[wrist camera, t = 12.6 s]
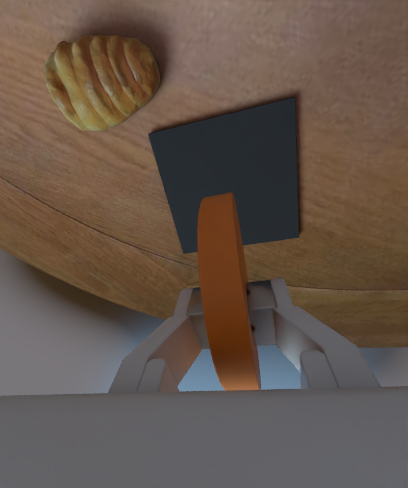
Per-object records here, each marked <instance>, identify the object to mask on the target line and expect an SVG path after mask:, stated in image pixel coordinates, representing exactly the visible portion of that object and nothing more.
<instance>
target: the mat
mask: <svg viewBox="0 0 408 488" xmlns="http://www.w3.org/2000/svg"><path fill="white" fill-rule="evenodd" d="M148 135H149V139H150V142H151V145H152V149H153V152H154V155H155V159H156V162H157V166H158V169H159V172H160V176H161V179H162V182H163V186H164V189H165V193H166V196H167V199H168V203H169V206H170V209H171V213H172V216H173V220H174V223H175V226H176V230H177V233H178V236H179V240H180V243H181V247H182V250H183V253H184V254H185V253H192V252H198V246H197V228H198V215H199V208H200V203H201V201H202V199H203V198H205V197H210V196H215V195H220V194H226V193H233V195H234V199H235V204H236V209H237V214H238V219H239V225H240V231H241V237H242V243H243V245H249V244H256V243H263V242H270V241H277V240H284V239H291V238H298V237H299V210H298V176H297V142H296V108H295V97H293V98H289V99H285V100H281V101H277V102H273V103H269V104H265V105H261V106H257V107H253V108H249V109H245V110H241V111H237V112H233V113H229V114H225V115H221V116H217V117H213V118H209V119H205V120H202V121H198V122H194V123H190V124H186V125H182V126H178V127H174V128H170V129H166V130H162V131H158V132H154V133H150V134H148Z"/></svg>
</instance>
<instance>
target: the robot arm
mask: <svg viewBox="0 0 408 488" xmlns="http://www.w3.org/2000/svg"><path fill="white" fill-rule="evenodd" d="M246 291H247V303H248V312H249V317H250V323H251V327H252V335H253V340H254V346H256V345H277V346H278V348H279V349H280V350H281V351H282V352H283V353H284V354H285V356H286V357H287V358H288V359H289V360H290V361H291V362H292V363H293V365H294V366H295V367H296V368H297V369H298V370H299V371H300V374H301V389H274V390H230V391H190V392H189V391H186V392H179V390H178V387H177V386H178V384H179V383H180V381H181V380H182V379H183V377H184V375H185V374H186V373H187V371H188V370H189V368H190V367H191V365H192V364H193V362H194V361H195V359H196V358H197V356H198V355H199V353H200V352H201V349H210V347H209V342H208V337H207V332H206V326H205V320H204V314H203V306H202V298H201V290H200V287H199V288H189V289H182V290H181V291H180V294H179V298H178V301H177V304H176V308H175V311H174V314H173V317H169V318H168V319H167V320H166V321H165V322H164V323H163V324H161V325H160V326H159V327H158V328H157V329H156V330H155V331H154V332H153V333H152V334H150V335H149V336H148V337H147V338H146V339H145V340H144V341H143V342H142V343H141V344H140V345H138V346H137V347H136V348H135V349H134V350H133V351H132V352H131V353H130V354H129V355H128V356H126V357H125V358H124V359H123V361H122V363H121V365H120V368H119V370H118V372H117V374H116V376H115V379H114V381H113V383H112V385H111V388H110V390H109V392H108V393H101V394H100V393H99V394H62V395H61V394H60V395H58V394H56V395H15V396H14V395H13V396H0V488H408V386H404V387H402V386H401V387H381V386H380V384H379V382H378V381H377V379H376V377H375V375H374V374H373V372H372V370H371V368H370V367H369V365H368V363H367V362H366V360H365V358H364V356H363V355H362V353H361V351H360V349H359V348H358V347H357V346H356V345H354V344H353V343H351V342H350V341H349V340H347V339H346V338H344V337H343V336H341V335H340V334H338V333H337V332H335V331H334V330H332V329H331V328H329V327H328V326H327V325H325V324H324V323H322V322H321V321H319V320H318V319H316V318H315V317H313V316H312V315H310V314H309V313H307V312H306V311H304V310H303V309H302V308H300V307H299V306H293V303H292V301H291V298H290V295H289V292H288V289H287V286H286V284H285V281H284V279H283V278H277V279H270V280H265V281H257V282H248V283H246Z"/></svg>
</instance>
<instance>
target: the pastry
mask: <svg viewBox="0 0 408 488" xmlns="http://www.w3.org/2000/svg"><path fill="white" fill-rule="evenodd" d="M43 74H44V78H45V80H46V84H47V86H48V89H49V91H50V93H51V96H52V98H53V100H54V102H55V103H56V104H57V105H58V106H59V108H60V109H61V111H62V113H63V114H64V115H65V117H66V118H67V119H68V120H69V121H70V122H72V123H73V124H74V125H76V126H77V127H78V128H79V129H81V130H84V131H87V130H95V131H106V130H108V129H109V128H111V127H113V126H115V125H117V124H120V123H122V122H124V121H125V120H126V119H128V118H129V117H130V116H131V115H133V114H134V113H135V112H136V111H138V110H139V109H140V108H141V107H143V106H144V105H145V104H146V103H148V102H149V101H150V100H151V99H152V97H153V95H154V94H155V92H156V90H157V89H158V86H159V82H160V74H159V69H158V66H157V64H156V61H155V59H154V57H153V54H152V52H151V50H150V49H149V48H148V47H147V46H145V45H144V44H143V43H141V42H140V41H139V40H138V39H136V38H124V37H121V36H119V35H109V36H105V35H96V36H93V35H88V34H87V35H84V36H82V37H80V38H79V39H78V40H76V41H75V42H74V43H68V42H66V41H62V42H60V43H59V44H58V45H57V47H56V48H55V52H52V53H51V55H50V57H49V58H48V60H47V62H46V65H45V66H44V68H43Z"/></svg>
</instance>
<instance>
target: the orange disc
mask: <svg viewBox="0 0 408 488" xmlns="http://www.w3.org/2000/svg"><path fill="white" fill-rule="evenodd" d="M197 246H198V267H199V279H200V290H201V298H202V306H203V314H204V320H205V326H206V332H207V337H208V342H209V347H210V351H211V355H212V360H213V363H214V367H215V370H216V373H217V376H218V378H219V381H220V383H221V385H222V387H223V388H224V389H225V390H227V391H230V390H260V389H261V380H260V369H259V359H258V351H257V345H256V346H254V340H253V335H252V327H251V323H250V317H249V312H248V303H247V291H246V283H248V276H247V269H246V263H245V256H244V250H243V243H242V237H241V231H240V225H239V219H238V214H237V209H236V204H235V199H234V195H233V193H226V194H220V195H215V196H210V197H205V198H203V199H202V201H201V203H200V208H199V215H198V228H197Z"/></svg>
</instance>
